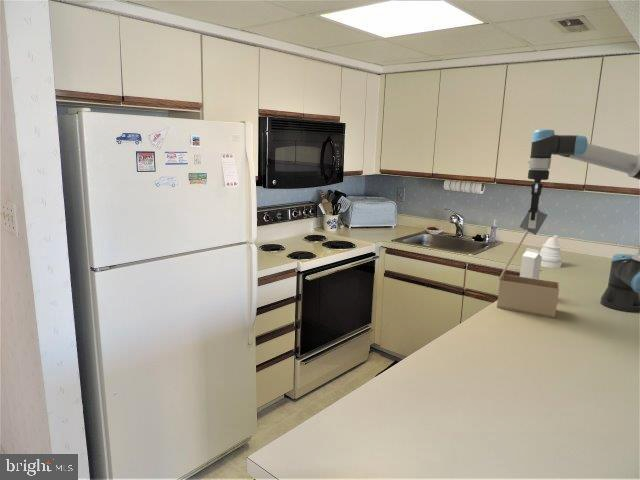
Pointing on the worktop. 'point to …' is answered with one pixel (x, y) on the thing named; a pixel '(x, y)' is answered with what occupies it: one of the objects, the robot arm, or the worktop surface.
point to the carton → (528, 295)
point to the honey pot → (551, 253)
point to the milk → (531, 264)
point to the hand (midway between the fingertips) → (531, 227)
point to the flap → (524, 225)
